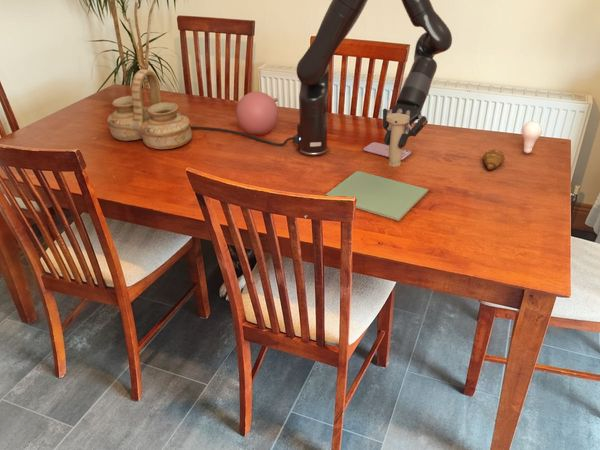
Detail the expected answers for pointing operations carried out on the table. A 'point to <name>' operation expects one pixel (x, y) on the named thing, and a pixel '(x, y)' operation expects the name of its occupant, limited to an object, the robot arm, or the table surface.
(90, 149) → the table surface
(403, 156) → the mobile phone
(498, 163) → the croissant
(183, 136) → the ceramic vessel
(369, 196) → the mat
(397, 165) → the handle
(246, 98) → the balloon
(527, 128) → the lightbulb
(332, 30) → the robot arm
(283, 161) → the table surface
